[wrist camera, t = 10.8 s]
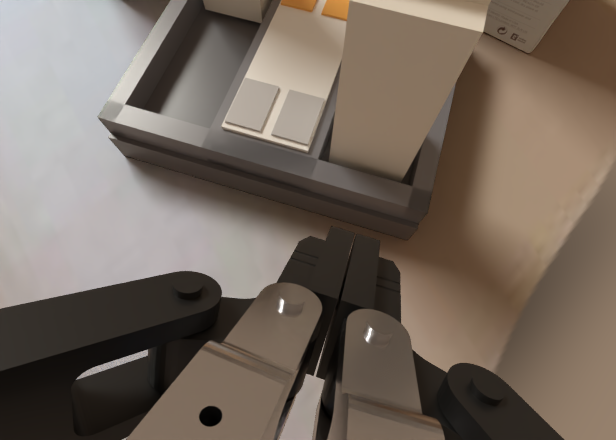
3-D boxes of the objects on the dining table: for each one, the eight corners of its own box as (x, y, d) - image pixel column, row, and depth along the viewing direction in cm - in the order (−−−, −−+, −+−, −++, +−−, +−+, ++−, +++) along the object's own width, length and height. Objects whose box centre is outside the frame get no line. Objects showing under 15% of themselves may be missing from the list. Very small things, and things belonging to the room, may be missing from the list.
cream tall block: (399, 185, 20) (496, 7, 10) (328, 165, 20) (352, -26, 10) (410, 140, 21) (509, -63, 11) (342, 121, 22) (378, -91, 11)
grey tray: (407, 240, 21) (428, 215, 18) (124, 155, 23) (91, 117, 20) (454, 39, 27) (477, -11, 23) (222, -18, 29) (210, -72, 25)
